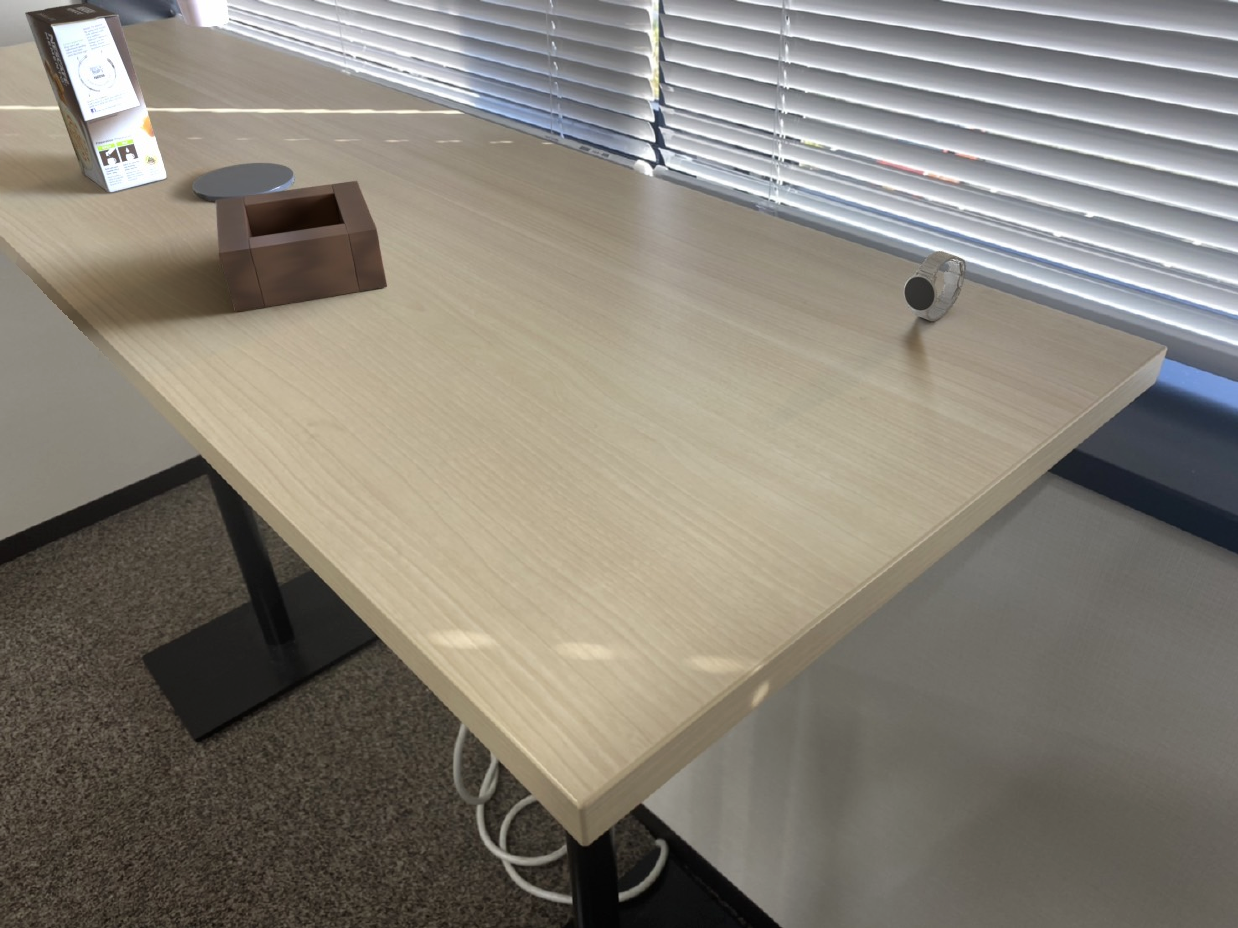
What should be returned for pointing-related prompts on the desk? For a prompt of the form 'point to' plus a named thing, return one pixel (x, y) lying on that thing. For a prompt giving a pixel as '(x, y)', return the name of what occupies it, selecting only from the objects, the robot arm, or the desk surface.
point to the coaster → (243, 181)
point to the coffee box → (98, 94)
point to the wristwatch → (924, 291)
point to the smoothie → (203, 12)
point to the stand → (298, 245)
